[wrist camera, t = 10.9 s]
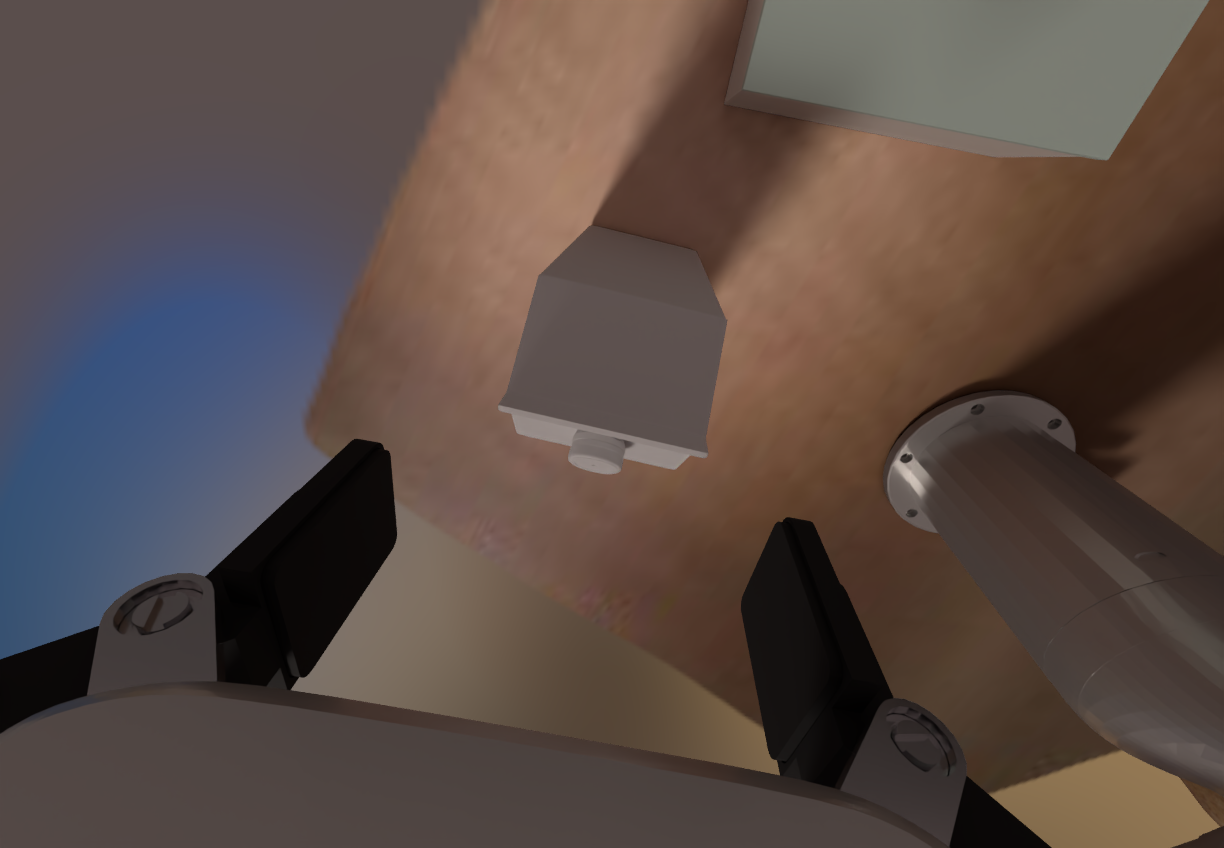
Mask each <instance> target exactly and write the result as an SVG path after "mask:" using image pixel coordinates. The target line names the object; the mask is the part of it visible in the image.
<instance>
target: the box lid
mask: <svg viewBox="0 0 1224 848" xmlns="http://www.w3.org/2000/svg"><path fill="white" fill-rule="evenodd" d="M1208 1H1209V0H764V2H763V6H762V10H761V14H760V18H759V22H758V26H757V30H756V34H755V38H754V41H753V45H752V49H751V53H750V57H749V61H748V65H747V69H746V73H745V77H744V81H743V85H742V89H741V90H743V91H748V92H753V93H758V94H763V95H768V96H773V97H778V98H784V99H789V100H794V101H799V102H804V103H809V104H814V105H819V106H825V107H830V108H835V109H840V110H845V111H850V112H855V113H860V114H865V115H871V116H876V117H881V118H886V119H891V120H896V121H901V122H906V123H912V124H917V125H922V126H927V127H932V128H937V129H942V130H947V131H953V132H958V133H963V134H968V135H973V136H978V137H983V138H988V139H994V140H999V141H1004V142H1009V143H1014V144H1019V145H1024V146H1029V147H1035V148H1040V149H1045V150H1050V151H1055V152H1060V153H1065V154H1070V155H1075V156H1081V157H1086V158H1091V159H1096V160H1108V159H1109V158H1110V156H1111V154H1112V153H1113V151H1114V150H1115V148H1116V147H1117V145H1118V143H1119V142H1120V140H1121V139H1122V137H1123V136H1124V134H1125V132H1126V131H1127V129H1128V128H1129V126H1130V124H1131V123H1132V121H1133V120H1134V118H1135V117H1136V115H1137V113H1138V112H1139V110H1140V109H1141V107H1142V106H1143V104H1144V102H1145V101H1146V99H1147V98H1148V96H1149V95H1150V93H1151V91H1152V90H1153V88H1154V87H1155V85H1156V83H1157V82H1158V80H1159V79H1160V77H1161V76H1162V74H1163V72H1164V71H1165V69H1166V68H1167V66H1168V65H1169V63H1170V61H1171V60H1172V58H1173V57H1174V55H1175V53H1176V52H1177V50H1178V49H1179V47H1180V46H1181V44H1182V42H1183V41H1184V39H1185V38H1186V36H1187V35H1188V33H1189V31H1190V30H1191V28H1192V27H1193V25H1194V23H1195V22H1196V20H1197V19H1198V17H1199V16H1200V14H1201V12H1202V11H1203V9H1204V8H1205V6H1206V5H1207V3H1208Z"/></svg>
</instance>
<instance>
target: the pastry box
mask: <svg viewBox="0 0 1224 848" xmlns="http://www.w3.org/2000/svg"><path fill="white" fill-rule="evenodd" d="M763 2H764V0H749V1H748V5H747V9H746V13H745V18H744V22H743V26H742V30H741V34H740V39H739V43H738V47H737V51H736V55H735V60H734V64H733V68H732V72H731V76H730V81H729V85H728V89H727V93H726V97H725V102H724V105H729V106H734V107H739V108H744V109H750V110H755V111H760V112H765V113H770V114H775V115H780V116H786V117H791V118H796V119H801V120H806V121H811V122H816V123H821V124H827V125H832V126H837V127H842V128H847V129H852V130H857V131H863V132H868V133H873V134H878V135H883V136H888V137H893V138H898V139H904V140H909V141H914V142H919V143H924V144H929V145H934V146H939V147H945V148H950V149H955V150H960V151H965V152H970V153H975V154H981V155H986V156H991V157H1081V156H1075V155H1070V154H1065V153H1060V152H1055V151H1050V150H1045V149H1040V148H1035V147H1029V146H1024V145H1019V144H1014V143H1009V142H1004V141H999V140H994V139H988V138H983V137H978V136H973V135H968V134H963V133H958V132H953V131H947V130H942V129H937V128H932V127H927V126H922V125H917V124H912V123H906V122H901V121H896V120H891V119H886V118H881V117H876V116H871V115H865V114H860V113H855V112H850V111H845V110H840V109H835V108H830V107H825V106H819V105H814V104H809V103H804V102H799V101H794V100H789V99H784V98H778V97H773V96H768V95H763V94H758V93H753V92H748V91H743V90H741V89H742V85H743V81H744V77H745V73H746V69H747V65H748V61H749V57H750V53H751V49H752V45H753V41H754V38H755V34H756V30H757V26H758V22H759V18H760V14H761V10H762V6H763Z"/></svg>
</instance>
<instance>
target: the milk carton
mask: <svg viewBox="0 0 1224 848" xmlns="http://www.w3.org/2000/svg"><path fill="white" fill-rule="evenodd" d="M726 325H727V320H726V318H725V316H724V314H723V311H722V309H721V307H720V304H719V302H718V300H717V297H716V295H715V293H714V290H713V288H712V286H711V284H710V281H709V279H708V277H707V274H706V272H705V270H704V267H703V265H702V263H701V260H700V258H699V256H698V253H697V252H696V251H694V250H691V249H688V248H684V247H680V246H676V245H672V244H668V243H663V242H659V241H655V240H651V239H647V238H643V237H639V236H635V235H631V234H627V233H623V232H619V231H615V230H611V229H607V228H603V227H598V226H593V225H591V226H589V227H588V228H587V229H586V230H585V231H584V232H583V233H582V234H581V235H580V236H579V237H578V238H577V239H576V240H575V241H574V242H573V243H572V244H571V245H570V246H569V247H568V248H567V249H566V250H565V251H564V252H563V253H562V254H561V255H560V256H559V257H558V258H556V259H555V260H554V261H553V262H552V263H551V264H550V265H549V266H548V267H547V268H546V269H545V270H544V271H543V272H542V273H541V274H540V275H539V276H538V280H537V283H536V287H535V291H534V294H533V298H532V302H531V305H530V309H529V313H528V316H527V320H526V323H525V327H524V331H523V334H522V338H521V342H520V345H519V349H518V353H517V356H516V360H515V364H514V367H513V371H512V375H511V378H510V382H509V386H508V389H507V392H506V394H505V395H504V397H503V399H502V400H501V402H500V403H499V405H498V409H499V410H500V411H501V412H506V413H510V414H512V417H513V421H514V425H515V428H516V432H517V433H518V434H521V435H525V436H529V437H533V438H537V439H541V440H546V441H550V442H554V443H559V444H563V445H568V446H571V448H570V451H569V455H568V459H569V461H570V463H572V464H573V465H575V466H576V467H579V468H581V469H584V470H588V471H591V472H596V473H602V474H615V473H618V472H620V471H621V469H622V464H623V458H624V459H629V460H633V461H637V462H641V463H646V464H650V465H655V466H659V467H664V468H669V469H677V468H678V467H679V466H680V465H681V464H682V463H683V462H684V461H685V460H686V459H687V458H688V457H689V456H690V455H692V456H696V457H700V458H706V457H707V456H708V449H707V443H706V433H707V428H708V423H709V417H710V412H711V406H712V401H713V395H714V390H715V385H716V379H717V374H718V368H719V363H720V357H721V352H722V347H723V341H724V336H725V330H726Z"/></svg>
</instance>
